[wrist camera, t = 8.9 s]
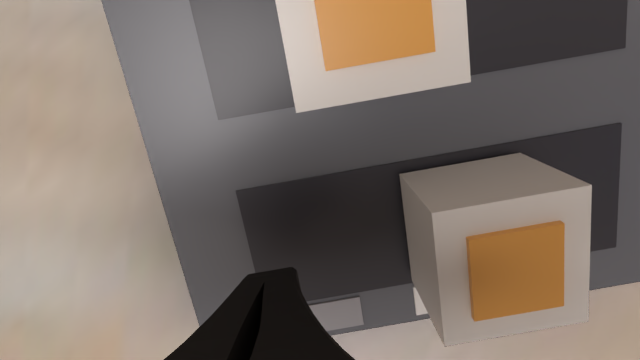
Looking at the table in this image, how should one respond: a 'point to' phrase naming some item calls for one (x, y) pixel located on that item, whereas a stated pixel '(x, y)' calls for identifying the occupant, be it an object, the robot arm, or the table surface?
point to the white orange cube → (371, 48)
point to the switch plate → (370, 144)
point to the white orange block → (498, 246)
